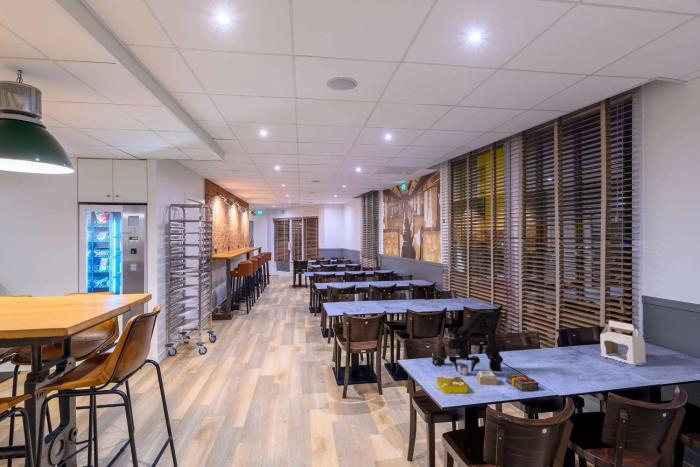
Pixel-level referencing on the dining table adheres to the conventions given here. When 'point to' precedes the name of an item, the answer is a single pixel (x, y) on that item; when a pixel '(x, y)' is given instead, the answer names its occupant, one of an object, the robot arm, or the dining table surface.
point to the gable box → (633, 342)
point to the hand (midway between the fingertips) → (464, 372)
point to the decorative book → (521, 382)
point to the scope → (439, 356)
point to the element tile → (452, 385)
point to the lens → (464, 369)
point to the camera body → (486, 378)
